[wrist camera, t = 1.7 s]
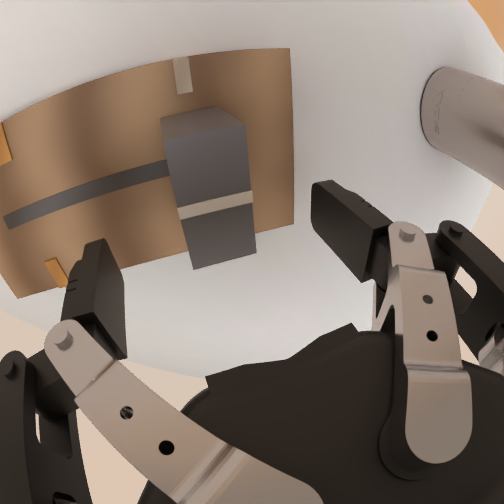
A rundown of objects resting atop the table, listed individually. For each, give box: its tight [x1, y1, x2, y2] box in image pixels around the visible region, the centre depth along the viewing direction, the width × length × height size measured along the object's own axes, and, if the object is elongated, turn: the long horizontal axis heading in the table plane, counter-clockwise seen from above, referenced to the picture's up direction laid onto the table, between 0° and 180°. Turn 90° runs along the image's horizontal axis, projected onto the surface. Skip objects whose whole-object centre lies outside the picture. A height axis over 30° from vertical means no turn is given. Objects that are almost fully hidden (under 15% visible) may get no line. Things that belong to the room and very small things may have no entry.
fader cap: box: [160, 107, 256, 270], centre depth 13 cm, size 3×6×5 cm, turn 5°
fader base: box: [0, 48, 294, 299], centre depth 15 cm, size 22×12×3 cm, turn 95°
